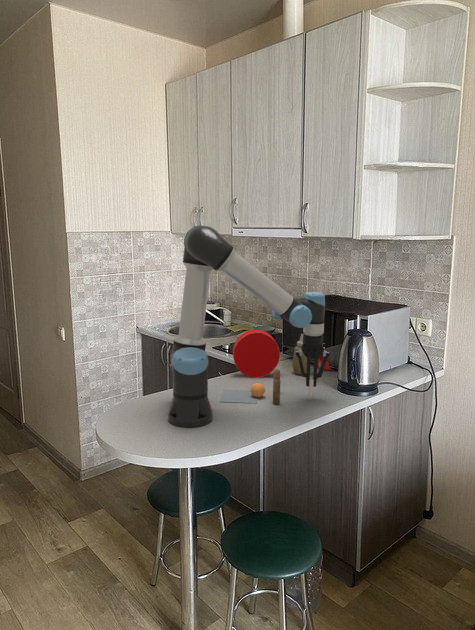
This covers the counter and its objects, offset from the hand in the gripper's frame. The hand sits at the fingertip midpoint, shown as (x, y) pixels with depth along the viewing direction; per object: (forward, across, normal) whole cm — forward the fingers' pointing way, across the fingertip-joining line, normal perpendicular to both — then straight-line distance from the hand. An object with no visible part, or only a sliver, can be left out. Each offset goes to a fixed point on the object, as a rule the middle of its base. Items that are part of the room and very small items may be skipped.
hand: (310, 394), depth 189 cm
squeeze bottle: (+2, +2, -33) cm, 33 cm away
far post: (+2, +13, -6) cm, 15 cm away
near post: (+2, +13, +6) cm, 15 cm away
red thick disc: (+2, +22, -27) cm, 35 cm away
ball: (-1, +20, 0) cm, 20 cm away
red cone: (+2, -10, -42) cm, 43 cm away
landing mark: (+2, +27, 0) cm, 27 cm away
